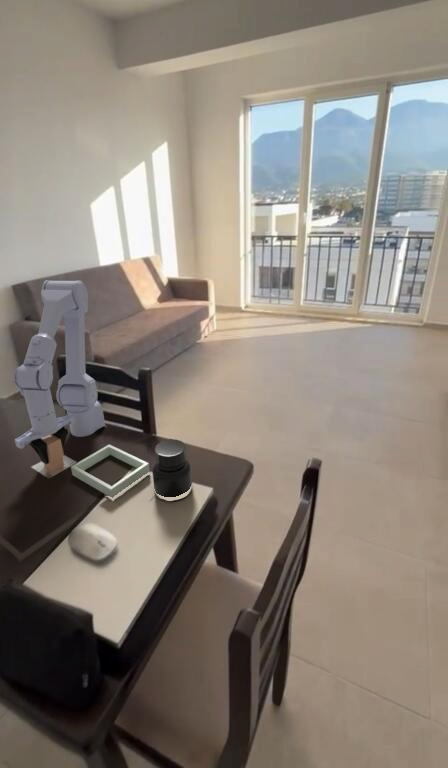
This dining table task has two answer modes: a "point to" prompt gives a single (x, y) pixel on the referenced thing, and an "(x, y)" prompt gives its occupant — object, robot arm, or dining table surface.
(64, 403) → the robot arm
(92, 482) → the parts bin
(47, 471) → the stud plate
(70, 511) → the dining table surface
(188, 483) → the ink bottle
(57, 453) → the light orange block
